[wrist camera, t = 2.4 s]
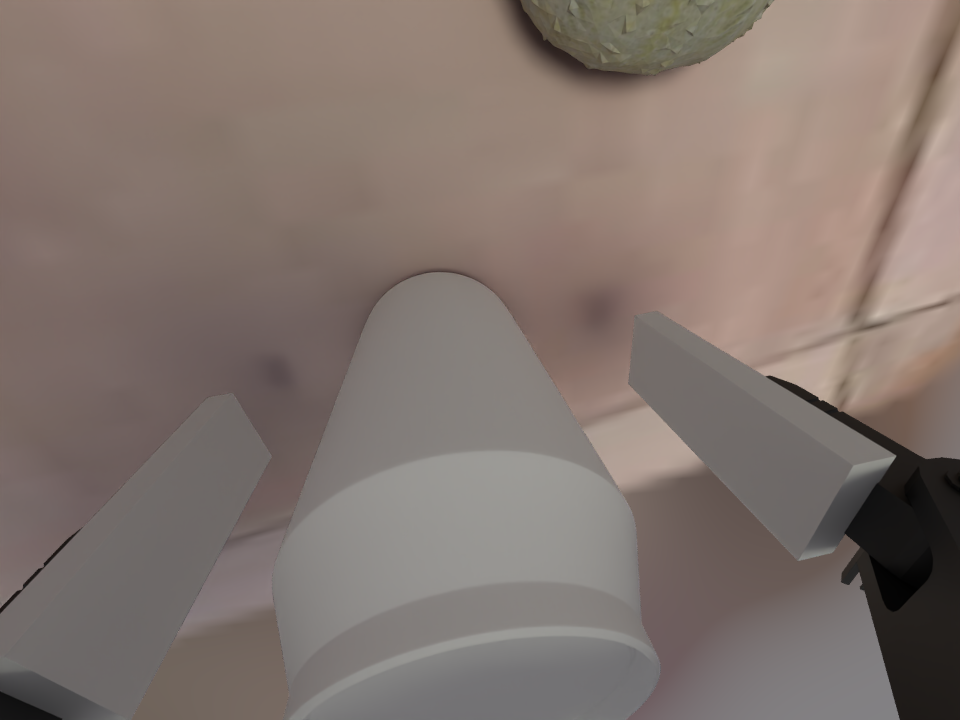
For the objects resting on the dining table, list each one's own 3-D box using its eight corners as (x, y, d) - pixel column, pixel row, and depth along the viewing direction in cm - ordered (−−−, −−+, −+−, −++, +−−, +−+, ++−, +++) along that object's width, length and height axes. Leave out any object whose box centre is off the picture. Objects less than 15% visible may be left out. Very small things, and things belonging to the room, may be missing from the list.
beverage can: (504, 393, 17) (637, 756, 6) (373, 399, 16) (280, 835, 5) (517, 266, 14) (806, 558, 3) (357, 263, 13) (82, 657, 2)
